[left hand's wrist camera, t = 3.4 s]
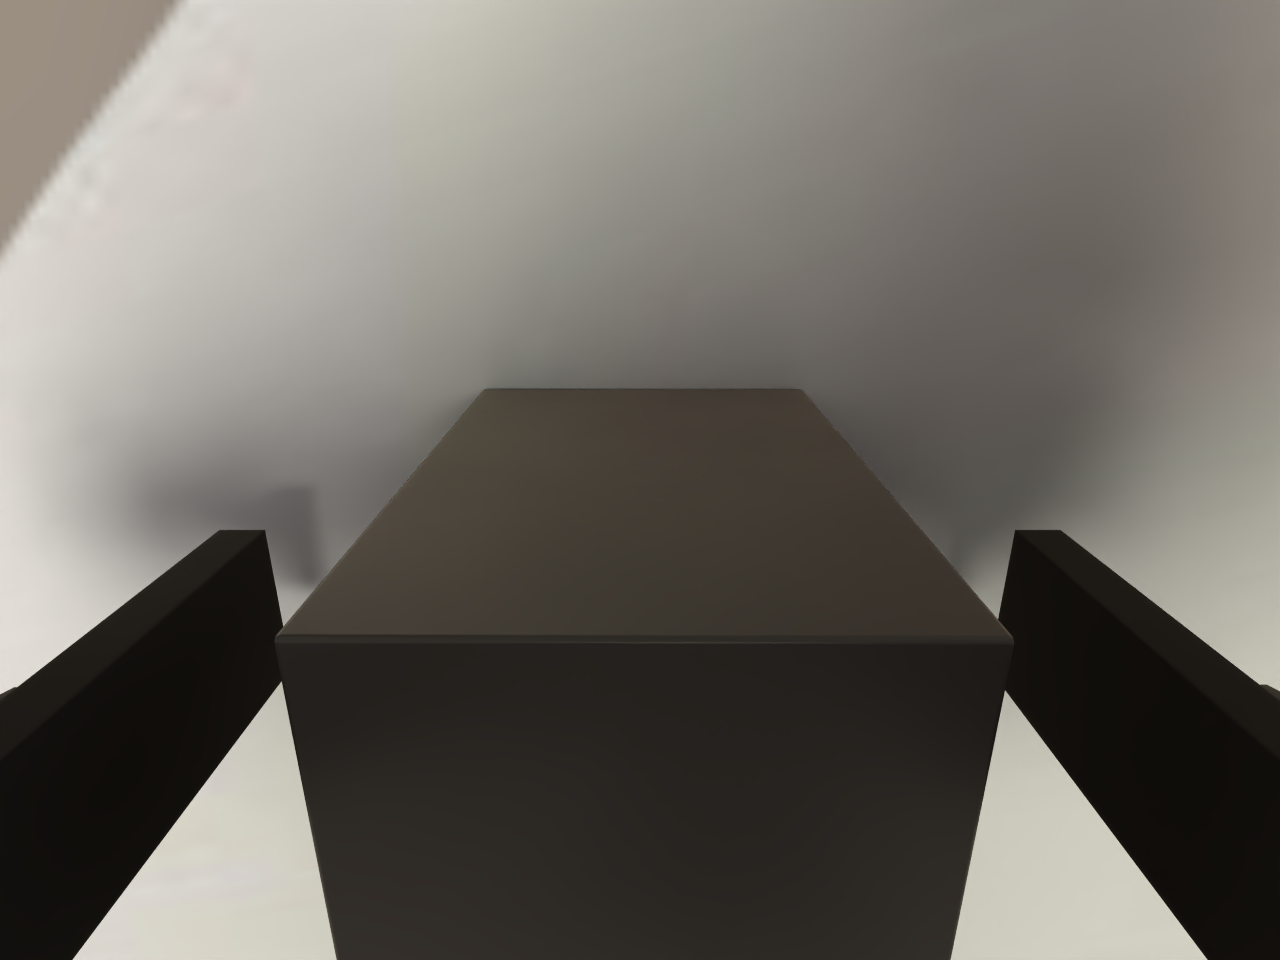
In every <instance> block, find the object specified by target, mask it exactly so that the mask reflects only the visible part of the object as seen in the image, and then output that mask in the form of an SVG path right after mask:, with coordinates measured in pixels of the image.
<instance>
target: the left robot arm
mask: <svg viewBox="0 0 1280 960" xmlns="http://www.w3.org/2000/svg"><path fill="white" fill-rule="evenodd" d="M998 620H999V622H1000V623H1001V624H1002V625H1003V626H1004V627H1005V629H1006V630H1007V631H1008V632H1009V633H1010V634H1011V636H1012V637H1013V640H1014V647H1013V652H1012V657H1011V662H1010V667H1009V672H1008V677H1007V682H1006V687H1005V690H1006V692H1007V693H1008V694H1009V696H1010V697H1011V698H1012V700H1013V701H1014V702H1015V704H1016V705H1017V706H1018V708H1019V709H1020V710H1021V712H1022V713H1023V714H1024V716H1025V717H1026V718H1027V720H1028V721H1029V722H1030V724H1031V725H1032V726H1033V728H1034V729H1035V730H1036V732H1037V733H1038V734H1039V736H1040V737H1041V738H1042V740H1043V741H1044V742H1045V744H1046V745H1047V746H1048V748H1049V749H1050V750H1051V752H1052V753H1053V754H1054V756H1055V757H1056V758H1057V760H1058V761H1059V762H1060V764H1061V765H1062V766H1063V768H1064V769H1065V770H1066V772H1067V773H1068V774H1069V776H1070V777H1071V778H1072V780H1073V781H1074V782H1075V784H1076V785H1077V786H1078V788H1079V789H1080V790H1081V792H1082V793H1083V794H1084V796H1085V797H1086V798H1087V800H1088V801H1089V802H1090V804H1091V805H1092V806H1093V808H1094V809H1095V810H1096V812H1097V813H1098V814H1099V816H1100V817H1101V818H1102V820H1103V821H1104V822H1105V824H1106V825H1107V826H1108V828H1109V829H1110V830H1111V832H1112V833H1113V834H1114V836H1115V837H1116V838H1117V840H1118V841H1119V842H1120V844H1121V845H1122V846H1123V848H1124V849H1125V850H1126V852H1127V853H1128V854H1129V856H1130V857H1131V858H1132V860H1133V861H1134V862H1135V864H1136V865H1137V866H1138V868H1139V869H1140V870H1141V872H1142V873H1143V874H1144V876H1145V877H1146V878H1147V880H1148V881H1149V882H1150V884H1151V885H1152V886H1153V888H1154V889H1155V890H1156V892H1157V893H1158V894H1159V896H1160V897H1161V898H1162V900H1163V901H1164V902H1165V904H1166V905H1167V906H1168V908H1169V909H1170V910H1171V912H1172V913H1173V914H1174V916H1175V917H1176V918H1177V920H1178V921H1179V922H1180V924H1181V925H1182V926H1183V928H1184V929H1185V930H1186V932H1187V933H1188V934H1189V936H1190V937H1191V938H1192V940H1193V941H1194V942H1195V944H1196V945H1197V946H1198V948H1199V949H1200V950H1201V952H1202V953H1203V954H1204V956H1205V957H1206V958H1207V960H1280V691H1278V690H1276V689H1274V688H1272V687H1270V686H1268V685H1259V684H1258V683H1257V682H1255V681H1254V680H1253V679H1251V678H1250V677H1249V676H1247V675H1246V674H1245V673H1244V672H1242V671H1241V670H1240V669H1238V668H1237V667H1236V666H1235V665H1233V664H1232V663H1231V662H1229V661H1228V660H1227V659H1226V658H1224V657H1223V656H1222V655H1220V654H1219V653H1218V652H1217V651H1215V650H1214V649H1213V648H1211V647H1210V646H1209V645H1208V644H1206V643H1205V642H1204V641H1202V640H1201V639H1200V638H1199V637H1197V636H1196V635H1195V634H1193V633H1192V632H1191V631H1190V630H1188V629H1187V628H1186V627H1184V626H1183V625H1182V624H1181V623H1179V622H1178V621H1177V620H1175V619H1174V618H1173V617H1172V616H1170V615H1169V614H1168V613H1166V612H1165V611H1164V610H1163V609H1161V608H1160V607H1159V606H1157V605H1156V604H1155V603H1154V602H1152V601H1151V600H1150V599H1148V598H1147V597H1146V596H1145V595H1143V594H1142V593H1141V592H1139V591H1138V590H1137V589H1136V588H1134V587H1133V586H1132V585H1130V584H1129V583H1128V582H1127V581H1125V580H1124V579H1123V578H1121V577H1120V576H1119V575H1118V574H1116V573H1115V572H1114V571H1112V570H1111V569H1110V568H1109V567H1107V566H1106V565H1105V564H1103V563H1102V562H1101V561H1100V560H1098V559H1097V558H1096V557H1094V556H1093V555H1092V554H1090V553H1089V552H1088V551H1087V550H1085V549H1084V548H1083V547H1081V546H1080V545H1079V544H1078V543H1076V542H1075V541H1074V540H1072V539H1071V538H1070V537H1069V536H1067V535H1066V534H1065V533H1063V532H1062V531H1061V530H1015V534H1014V539H1013V544H1012V550H1011V555H1010V560H1009V565H1008V571H1007V576H1006V581H1005V586H1004V592H1003V597H1002V602H1001V607H1000V613H999V618H998ZM282 628H283V623H282V618H281V612H280V607H279V602H278V597H277V591H276V586H275V581H274V576H273V570H272V565H271V560H270V555H269V549H268V544H267V539H266V534H265V530H219V531H218V532H217V533H215V534H214V535H213V536H211V537H210V538H209V539H208V540H206V541H205V542H204V543H202V544H201V545H200V546H199V547H197V548H196V549H195V550H193V551H192V552H191V553H190V554H188V555H187V556H186V557H184V558H183V559H182V560H181V561H179V562H178V563H177V564H175V565H174V566H173V567H172V568H170V569H169V570H168V571H166V572H165V573H164V574H163V575H161V576H160V577H159V578H157V579H156V580H155V581H154V582H152V583H151V584H150V585H148V586H147V587H146V588H144V589H143V590H142V591H141V592H139V593H138V594H137V595H135V596H134V597H133V598H132V599H130V600H129V601H128V602H126V603H125V604H124V605H123V606H121V607H120V608H119V609H117V610H116V611H115V612H114V613H112V614H111V615H110V616H108V617H107V618H106V619H105V620H103V621H102V622H101V623H99V624H98V625H97V626H96V627H94V628H93V629H92V630H90V631H89V632H88V633H87V634H85V635H84V636H83V637H81V638H80V639H79V640H78V641H76V642H75V643H74V644H72V645H71V646H70V647H69V648H67V649H66V650H65V651H63V652H62V653H61V654H60V655H58V656H57V657H56V658H54V659H53V660H52V661H51V662H49V663H48V664H47V665H45V666H44V667H43V668H42V669H40V670H39V671H38V672H36V673H35V674H34V675H33V676H31V677H30V678H29V679H27V680H26V681H25V682H24V683H22V684H21V685H20V686H18V687H14V688H12V689H10V690H8V691H6V692H4V693H2V694H0V960H73V958H74V957H75V956H76V954H77V953H78V952H79V950H80V949H81V948H82V946H83V945H84V944H85V942H86V941H87V940H88V938H89V937H90V936H91V934H92V933H93V932H94V930H95V929H96V928H97V926H98V925H99V924H100V922H101V921H102V920H103V918H104V917H105V916H106V914H107V913H108V912H109V910H110V909H111V908H112V906H113V905H114V904H115V902H116V901H117V900H118V898H119V897H120V896H121V894H122V893H123V892H124V890H125V889H126V888H127V886H128V885H129V884H130V882H131V881H132V880H133V878H134V877H135V876H136V874H137V873H138V872H139V870H140V869H141V868H142V866H143V865H144V864H145V862H146V861H147V860H148V858H149V857H150V856H151V854H152V853H153V852H154V850H155V849H156V848H157V846H158V845H159V844H160V842H161V841H162V840H163V838H164V837H165V836H166V834H167V833H168V832H169V830H170V829H171V828H172V826H173V825H174V824H175V822H176V821H177V820H178V818H179V817H180V816H181V814H182V813H183V812H184V810H185V809H186V808H187V806H188V805H189V804H190V802H191V801H192V800H193V798H194V797H195V796H196V794H197V793H198V792H199V790H200V789H201V788H202V786H203V785H204V784H205V782H206V781H207V780H208V778H209V777H210V776H211V774H212V773H213V772H214V770H215V769H216V768H217V766H218V765H219V764H220V762H221V761H222V760H223V758H224V757H225V756H226V754H227V753H228V752H229V750H230V749H231V748H232V746H233V745H234V744H235V742H236V741H237V740H238V738H239V737H240V736H241V734H242V733H243V732H244V730H245V729H246V728H247V726H248V725H249V724H250V722H251V721H252V720H253V718H254V717H255V716H256V714H257V713H258V712H259V710H260V709H261V708H262V706H263V705H264V704H265V702H266V701H267V700H268V698H269V697H270V696H271V694H272V693H273V692H274V690H275V689H276V688H277V686H278V685H279V684H280V682H281V681H282V679H281V674H280V669H279V664H278V659H277V654H276V649H275V644H274V642H275V637H276V635H277V634H278V633H279V632H280V630H281V629H282Z"/></svg>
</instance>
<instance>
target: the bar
mask: <svg viewBox="0 0 1280 960" xmlns="http://www.w3.org/2000/svg"><path fill="white" fill-rule="evenodd" d="M274 644H275V649H276V654H277V659H278V664H279V669H280V674H281V679H282V684H283V690H284V695H285V700H286V705H287V710H288V715H289V720H290V725H291V730H292V735H293V740H294V745H295V750H296V755H297V760H298V766H299V771H300V776H301V781H302V786H303V791H304V796H305V801H306V806H307V811H308V816H309V821H310V826H311V831H312V836H313V842H314V847H315V852H316V857H317V862H318V867H319V872H320V877H321V882H322V887H323V892H324V897H325V902H326V907H327V913H328V918H329V923H330V928H331V933H332V938H333V943H334V948H335V953H336V958H337V960H950V959H951V954H952V949H953V945H954V940H955V935H956V930H957V925H958V920H959V915H960V910H961V905H962V900H963V895H964V890H965V885H966V880H967V875H968V870H969V865H970V860H971V855H972V850H973V845H974V841H975V836H976V831H977V826H978V821H979V816H980V811H981V806H982V801H983V796H984V791H985V786H986V781H987V776H988V771H989V766H990V761H991V756H992V751H993V746H994V741H995V737H996V732H997V727H998V722H999V717H1000V712H1001V707H1002V702H1003V697H1004V692H1005V687H1006V682H1007V677H1008V672H1009V667H1010V662H1011V657H1012V652H1013V647H1014V640H1013V637H1012V636H1011V634H1010V633H1009V632H1008V631H1007V630H1006V629H1005V627H1004V626H1003V625H1002V624H1001V623H1000V622H999V620H998V619H997V618H996V617H995V616H994V614H993V613H992V612H991V611H990V610H989V609H988V607H987V606H986V605H985V604H984V603H983V602H982V600H981V599H980V598H979V597H978V596H977V595H976V593H975V592H974V591H973V590H972V589H971V588H970V586H969V585H968V584H967V583H966V582H965V581H964V579H963V578H962V577H961V576H960V575H959V574H958V572H957V571H956V570H955V569H954V568H953V566H952V565H951V564H950V563H949V562H948V561H947V559H946V558H945V557H944V556H943V555H942V554H941V552H940V551H939V550H938V549H937V548H936V547H935V545H934V544H933V543H932V542H931V541H930V540H929V538H928V537H927V536H926V535H925V534H924V533H923V531H922V530H921V529H920V528H919V527H918V526H917V524H916V523H915V522H914V521H913V520H912V518H911V517H910V516H909V515H908V514H907V513H906V511H905V510H904V509H903V508H902V507H901V506H900V504H899V503H898V502H897V501H896V500H895V499H894V497H893V496H892V495H891V494H890V493H889V492H888V490H887V489H886V488H885V487H884V486H883V485H882V483H881V482H880V481H879V480H878V479H877V478H876V476H875V475H874V474H873V473H872V472H871V470H870V469H869V468H868V467H867V466H866V465H865V463H864V462H863V461H862V460H861V459H860V458H859V456H858V455H857V454H856V453H855V452H854V451H853V449H852V448H851V447H850V446H849V445H848V444H847V442H846V441H845V440H844V439H843V438H842V437H841V435H840V434H839V433H838V432H837V431H836V430H835V428H834V427H833V426H832V425H831V424H830V422H829V421H828V420H827V419H826V418H825V417H824V415H823V414H822V413H821V412H820V411H819V410H818V408H817V407H816V406H815V405H814V404H813V403H812V401H811V400H810V399H809V398H808V397H807V396H806V394H805V393H804V392H803V391H802V390H605V389H486V390H484V391H483V392H482V393H481V394H480V395H479V396H478V398H477V399H476V400H475V401H474V402H473V404H472V405H471V406H470V407H469V408H468V409H467V411H466V412H465V413H464V414H463V415H462V417H461V418H460V419H459V420H458V421H457V422H456V424H455V425H454V426H453V427H452V428H451V430H450V431H449V432H448V433H447V434H446V435H445V437H444V438H443V439H442V440H441V441H440V443H439V444H438V445H437V446H436V447H435V448H434V450H433V451H432V452H431V453H430V454H429V456H428V457H427V458H426V459H425V460H424V461H423V463H422V464H421V465H420V466H419V467H418V469H417V470H416V471H415V472H414V473H413V474H412V476H411V477H410V478H409V479H408V480H407V482H406V483H405V484H404V485H403V486H402V487H401V489H400V490H399V491H398V492H397V493H396V494H395V496H394V497H393V498H392V499H391V500H390V502H389V503H388V504H387V505H386V506H385V507H384V509H383V510H382V511H381V512H380V513H379V515H378V516H377V517H376V518H375V519H374V520H373V522H372V523H371V524H370V525H369V526H368V528H367V529H366V530H365V531H364V532H363V533H362V535H361V536H360V537H359V538H358V539H357V541H356V542H355V543H354V544H353V545H352V546H351V548H350V549H349V550H348V551H347V552H346V554H345V555H344V556H343V557H342V558H341V559H340V561H339V562H338V563H337V564H336V565H335V567H334V568H333V569H332V570H331V571H330V572H329V574H328V575H327V576H326V577H325V578H324V580H323V581H322V582H321V583H320V584H319V585H318V587H317V588H316V589H315V590H314V591H313V593H312V594H311V595H310V596H309V597H308V598H307V600H306V601H305V602H304V603H303V604H302V606H301V607H300V608H299V609H298V610H297V611H296V613H295V614H294V615H293V616H292V617H291V619H290V620H289V621H288V622H287V623H286V624H285V626H284V627H283V628H282V629H281V630H280V632H279V633H278V634H277V635H276V637H275V642H274Z"/></svg>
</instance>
